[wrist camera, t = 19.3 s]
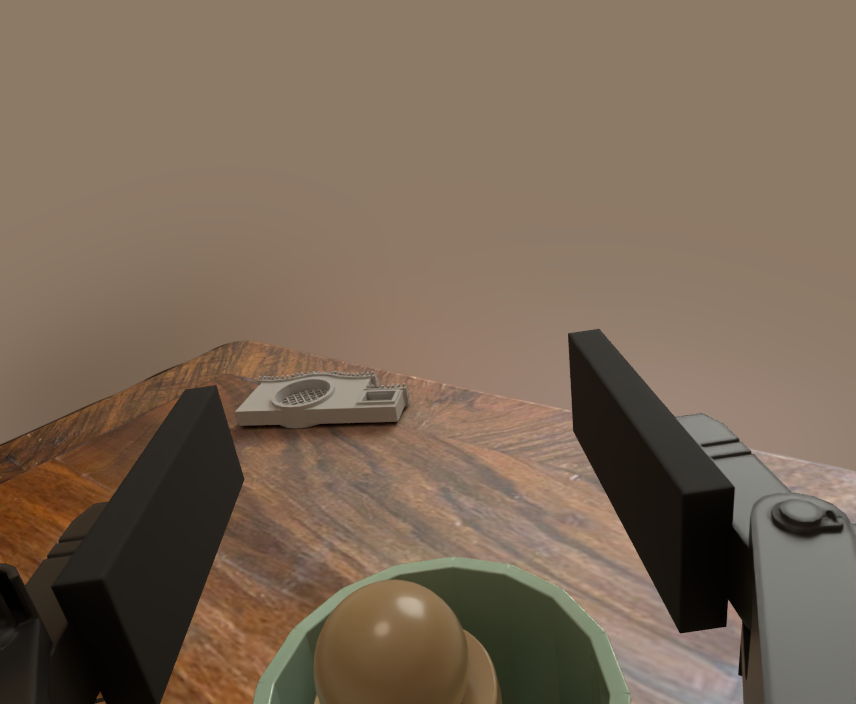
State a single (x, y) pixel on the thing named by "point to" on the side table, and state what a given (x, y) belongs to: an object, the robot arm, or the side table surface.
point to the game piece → (400, 651)
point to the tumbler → (482, 636)
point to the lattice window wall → (322, 400)
